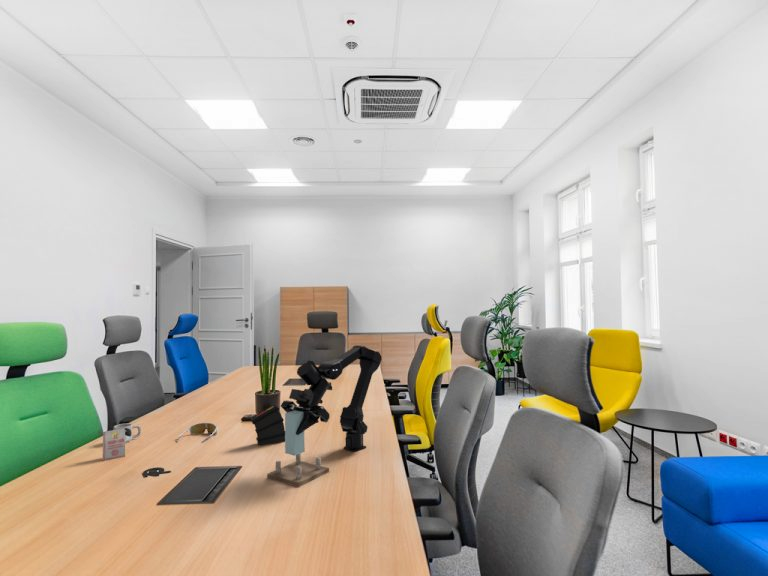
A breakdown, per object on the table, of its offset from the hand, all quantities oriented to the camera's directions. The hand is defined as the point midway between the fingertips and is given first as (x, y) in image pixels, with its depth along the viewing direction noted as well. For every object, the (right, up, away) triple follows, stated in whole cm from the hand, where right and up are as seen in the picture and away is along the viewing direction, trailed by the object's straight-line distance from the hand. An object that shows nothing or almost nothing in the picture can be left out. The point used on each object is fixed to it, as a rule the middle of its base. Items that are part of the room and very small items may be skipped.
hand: (291, 433), depth 139 cm
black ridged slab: (-17, -16, +34) cm, 41 cm away
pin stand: (+2, -13, 0) cm, 14 cm away
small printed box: (-71, -16, +19) cm, 75 cm away
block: (+1, -7, +1) cm, 7 cm away
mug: (-78, -17, +40) cm, 89 cm away
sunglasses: (-49, -17, +42) cm, 67 cm away
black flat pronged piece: (-44, -15, +3) cm, 46 cm away
